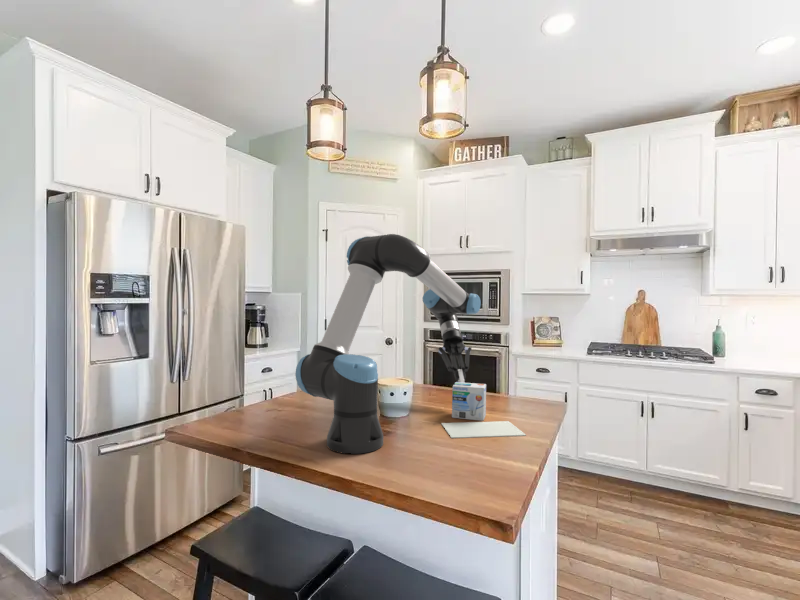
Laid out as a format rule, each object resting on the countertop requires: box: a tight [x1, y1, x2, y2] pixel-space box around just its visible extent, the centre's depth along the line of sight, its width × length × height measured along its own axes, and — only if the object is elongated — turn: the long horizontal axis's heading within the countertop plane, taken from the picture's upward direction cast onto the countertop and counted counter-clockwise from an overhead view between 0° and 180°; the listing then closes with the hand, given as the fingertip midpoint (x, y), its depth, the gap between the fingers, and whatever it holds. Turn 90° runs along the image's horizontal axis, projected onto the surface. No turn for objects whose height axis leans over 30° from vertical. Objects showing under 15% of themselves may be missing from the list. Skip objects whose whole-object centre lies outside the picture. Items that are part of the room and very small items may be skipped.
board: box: [441, 420, 527, 439], centre depth 125 cm, size 22×13×1 cm, turn 97°
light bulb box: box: [451, 381, 487, 422], centre depth 138 cm, size 11×7×11 cm, turn 73°
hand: (462, 386), depth 146 cm, fingers closed
